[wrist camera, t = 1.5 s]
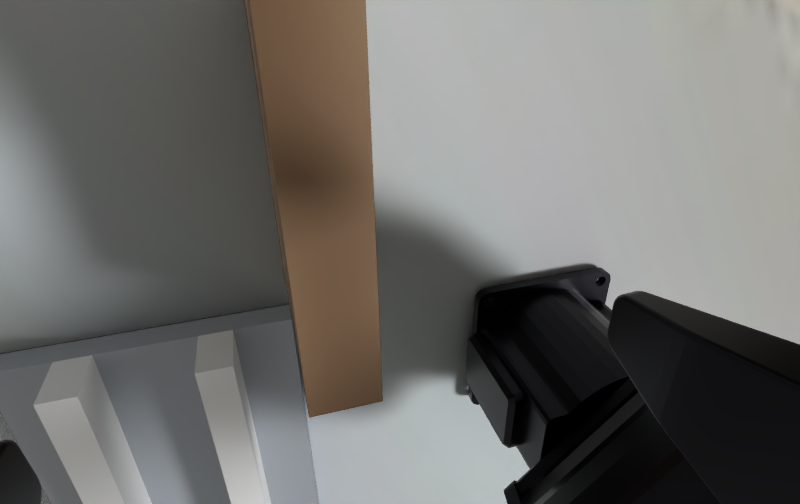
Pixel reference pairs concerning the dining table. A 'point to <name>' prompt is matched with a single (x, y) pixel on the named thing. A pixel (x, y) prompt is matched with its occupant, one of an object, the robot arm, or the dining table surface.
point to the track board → (166, 414)
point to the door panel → (322, 189)
